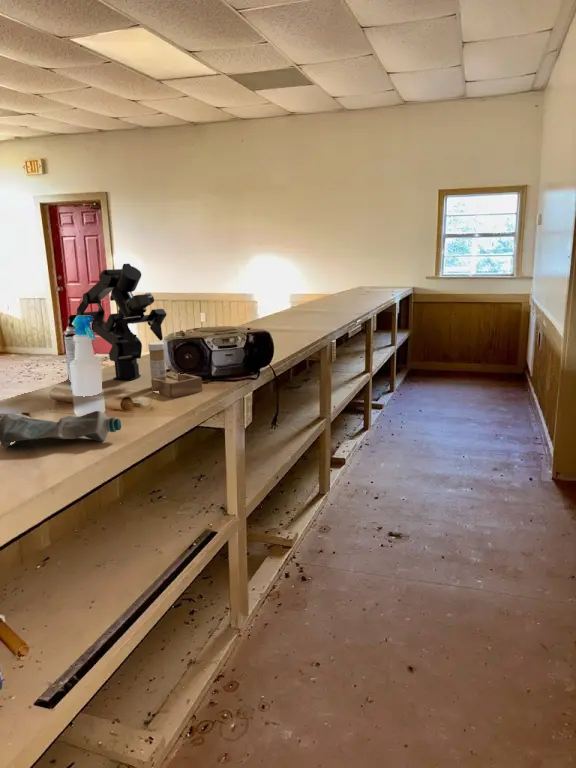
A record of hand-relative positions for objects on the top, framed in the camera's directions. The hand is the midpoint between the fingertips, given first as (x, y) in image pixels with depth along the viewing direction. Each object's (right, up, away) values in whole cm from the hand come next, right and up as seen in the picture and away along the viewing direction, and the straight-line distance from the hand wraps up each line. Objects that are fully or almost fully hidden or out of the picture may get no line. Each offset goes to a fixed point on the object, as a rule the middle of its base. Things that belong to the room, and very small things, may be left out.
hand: (148, 341), depth 167 cm
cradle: (+10, -15, -5) cm, 19 cm away
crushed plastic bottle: (-7, -26, -47) cm, 54 cm away
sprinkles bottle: (+3, -14, +1) cm, 14 cm away
